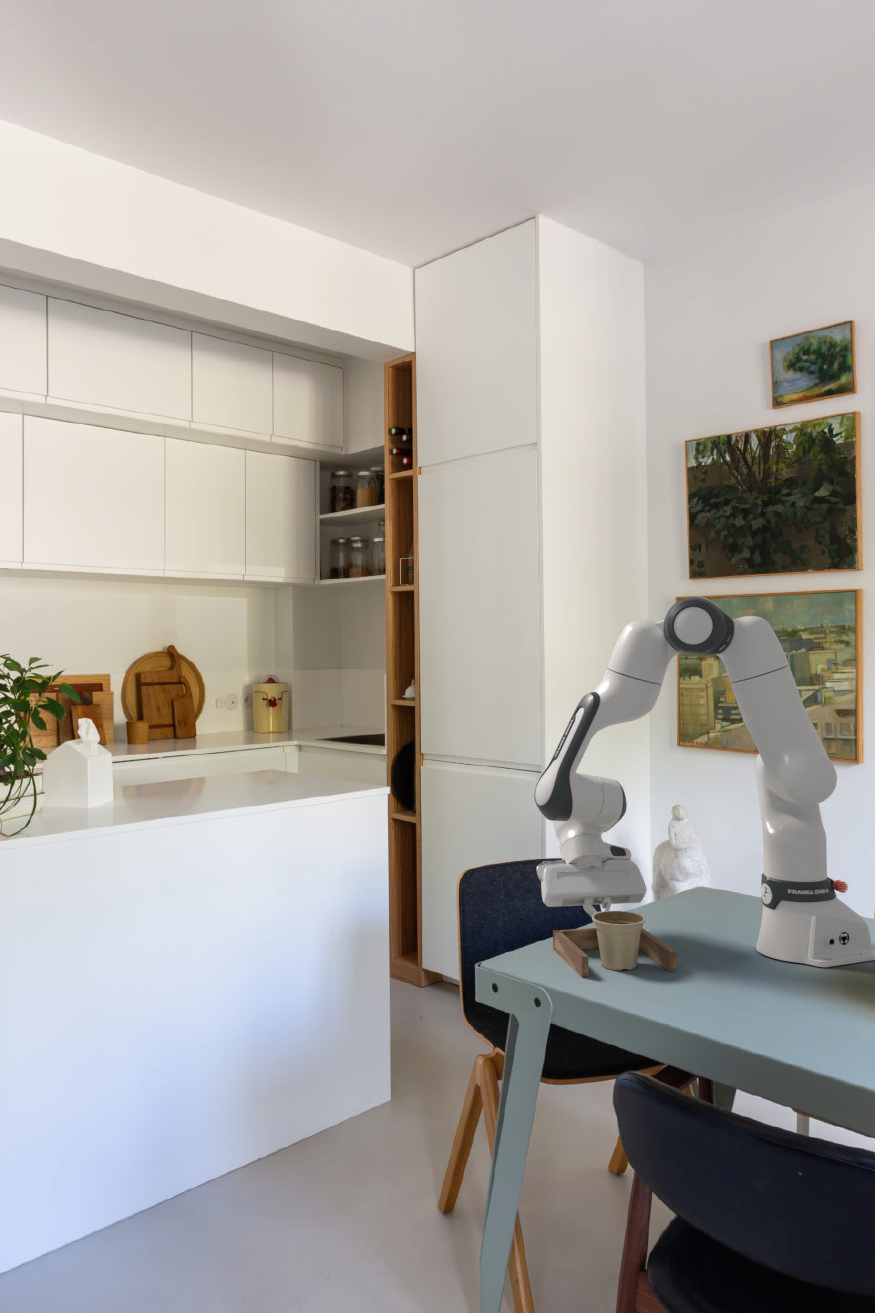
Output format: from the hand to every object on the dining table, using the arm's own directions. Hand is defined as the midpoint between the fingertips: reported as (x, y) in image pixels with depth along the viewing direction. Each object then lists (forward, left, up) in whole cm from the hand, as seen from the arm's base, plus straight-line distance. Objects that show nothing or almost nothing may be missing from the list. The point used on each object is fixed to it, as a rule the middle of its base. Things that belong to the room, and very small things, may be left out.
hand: (602, 922), depth 174 cm
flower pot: (0, +8, -6) cm, 10 cm away
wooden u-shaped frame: (0, +5, -6) cm, 7 cm away
